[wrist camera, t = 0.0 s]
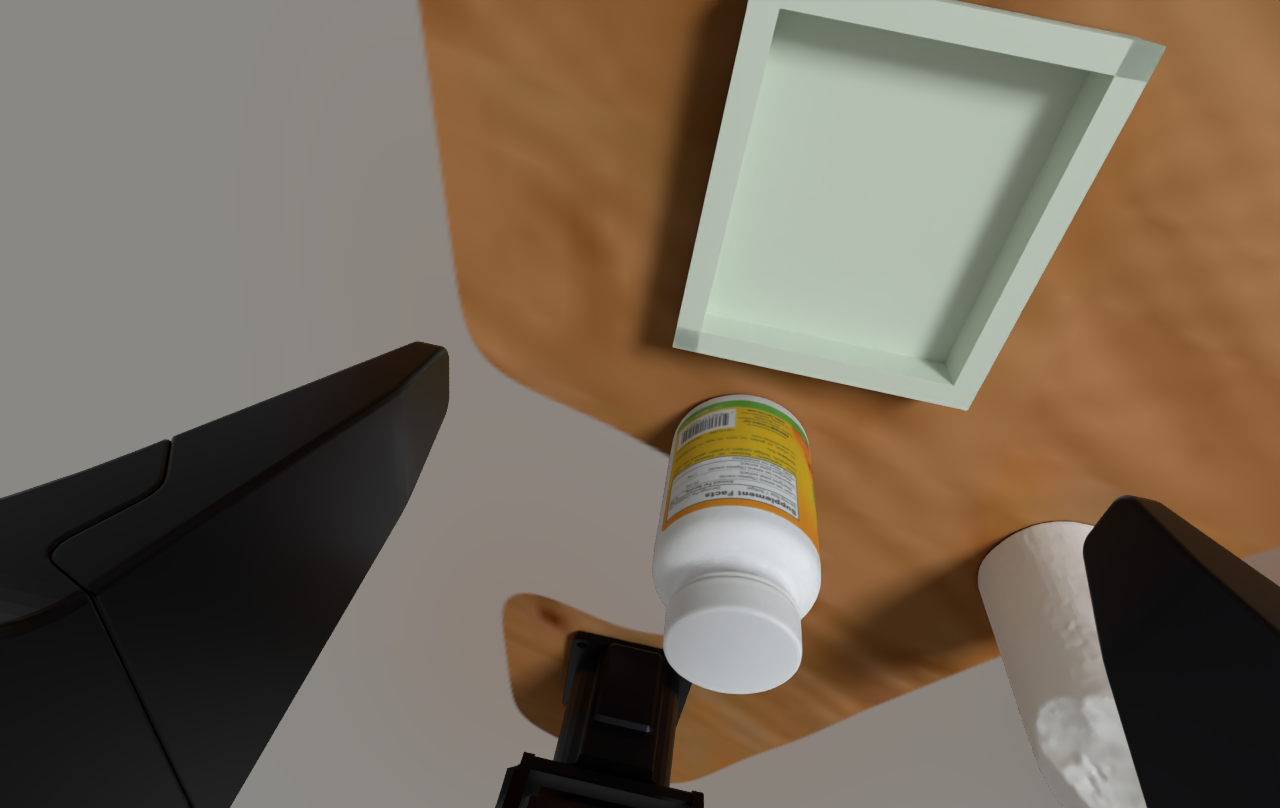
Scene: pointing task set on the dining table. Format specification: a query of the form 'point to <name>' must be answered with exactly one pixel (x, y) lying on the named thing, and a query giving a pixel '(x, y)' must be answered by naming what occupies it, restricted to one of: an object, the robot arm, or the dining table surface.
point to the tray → (897, 185)
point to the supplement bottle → (737, 545)
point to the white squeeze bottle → (1058, 665)
